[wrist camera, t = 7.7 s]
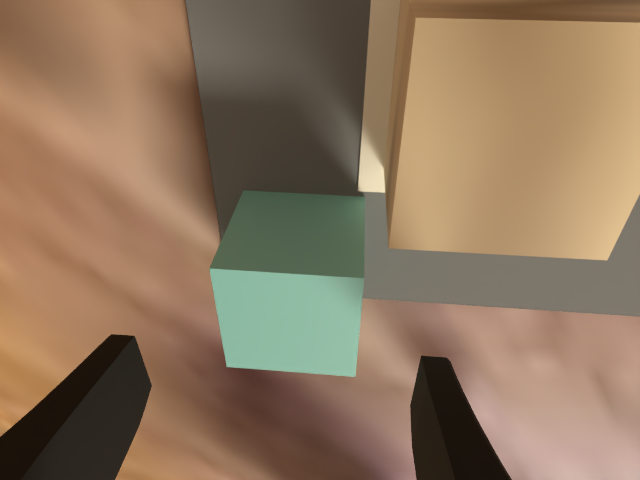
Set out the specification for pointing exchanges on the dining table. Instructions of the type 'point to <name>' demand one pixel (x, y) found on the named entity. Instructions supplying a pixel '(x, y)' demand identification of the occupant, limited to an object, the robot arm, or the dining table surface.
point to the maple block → (514, 126)
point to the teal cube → (291, 282)
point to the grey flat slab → (358, 150)
